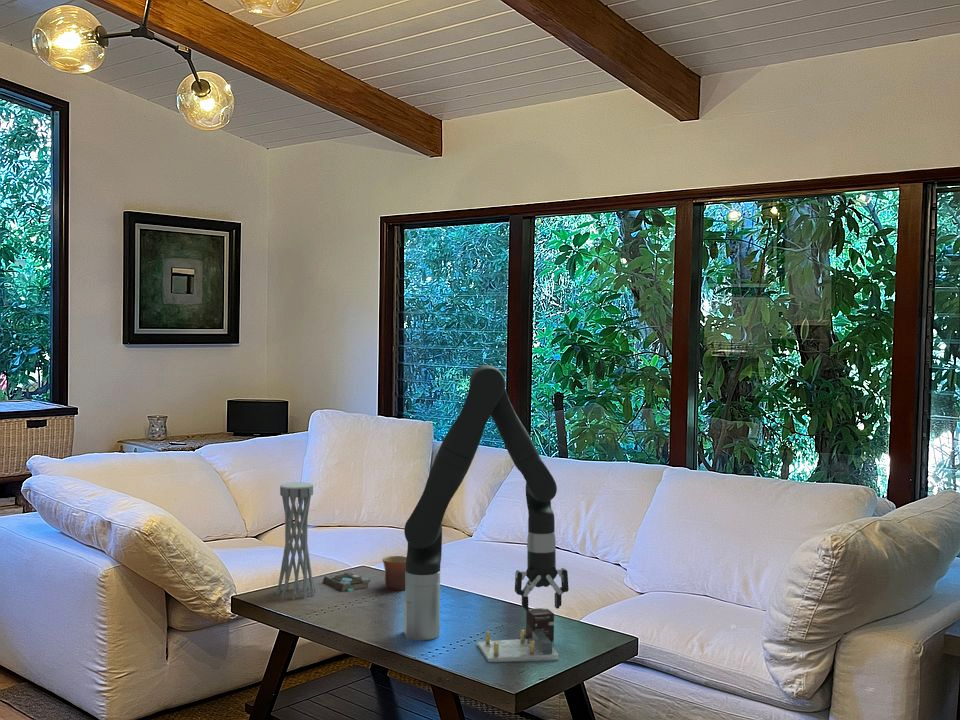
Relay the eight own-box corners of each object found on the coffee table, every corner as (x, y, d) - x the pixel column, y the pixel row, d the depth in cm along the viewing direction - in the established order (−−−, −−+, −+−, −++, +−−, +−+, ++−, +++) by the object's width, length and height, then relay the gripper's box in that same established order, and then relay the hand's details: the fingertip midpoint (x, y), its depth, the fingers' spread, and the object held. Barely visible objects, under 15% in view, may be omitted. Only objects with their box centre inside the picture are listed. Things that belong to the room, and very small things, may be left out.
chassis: (488, 664, 237) (488, 646, 237) (477, 647, 250) (477, 630, 249) (558, 660, 241) (558, 642, 240) (544, 643, 253) (544, 626, 253)
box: (532, 642, 254) (532, 615, 254) (525, 635, 260) (525, 608, 260) (554, 641, 256) (554, 613, 255) (546, 634, 261) (547, 607, 261)
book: (384, 596, 298) (384, 579, 298) (350, 602, 291) (350, 586, 290) (352, 582, 314) (352, 566, 314) (318, 587, 306) (318, 572, 306)
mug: (411, 594, 298) (412, 562, 298) (383, 596, 297) (383, 562, 296) (407, 584, 310) (407, 553, 310) (380, 585, 308) (380, 553, 308)
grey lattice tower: (306, 608, 282) (307, 489, 281) (264, 604, 286) (265, 487, 285) (325, 596, 295) (326, 482, 294) (286, 592, 299) (286, 480, 298)
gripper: (518, 552, 252) (519, 614, 252) (571, 550, 254) (571, 611, 255) (512, 546, 259) (512, 606, 259) (563, 544, 262) (563, 603, 262)
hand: (541, 608), depth 257 cm, fingers open, 8 cm apart
